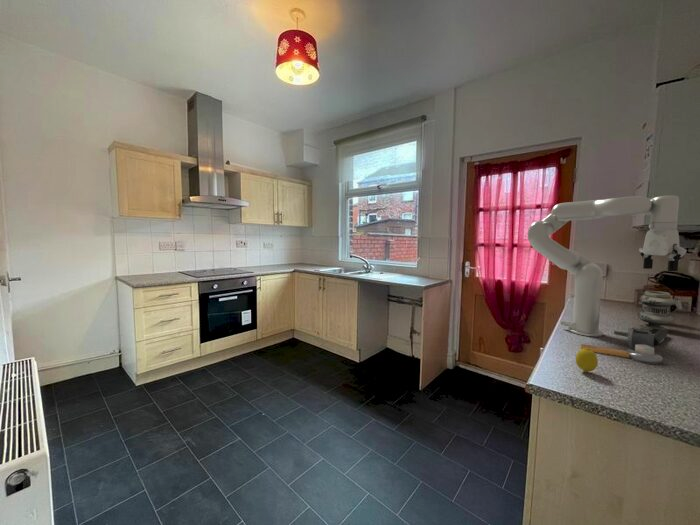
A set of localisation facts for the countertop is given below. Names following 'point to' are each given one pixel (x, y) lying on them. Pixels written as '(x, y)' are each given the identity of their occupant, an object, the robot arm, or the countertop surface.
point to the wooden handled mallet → (630, 353)
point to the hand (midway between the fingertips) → (659, 269)
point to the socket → (640, 337)
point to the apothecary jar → (656, 310)
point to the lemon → (586, 360)
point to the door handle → (658, 335)
